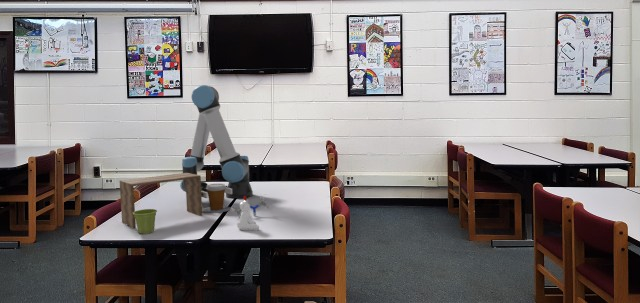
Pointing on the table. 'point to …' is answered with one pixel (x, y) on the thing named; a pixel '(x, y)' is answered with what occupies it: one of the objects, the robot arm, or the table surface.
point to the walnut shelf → (191, 182)
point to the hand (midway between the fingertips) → (219, 193)
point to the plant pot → (145, 220)
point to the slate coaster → (208, 210)
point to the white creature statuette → (246, 218)
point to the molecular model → (251, 207)
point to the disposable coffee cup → (216, 196)
